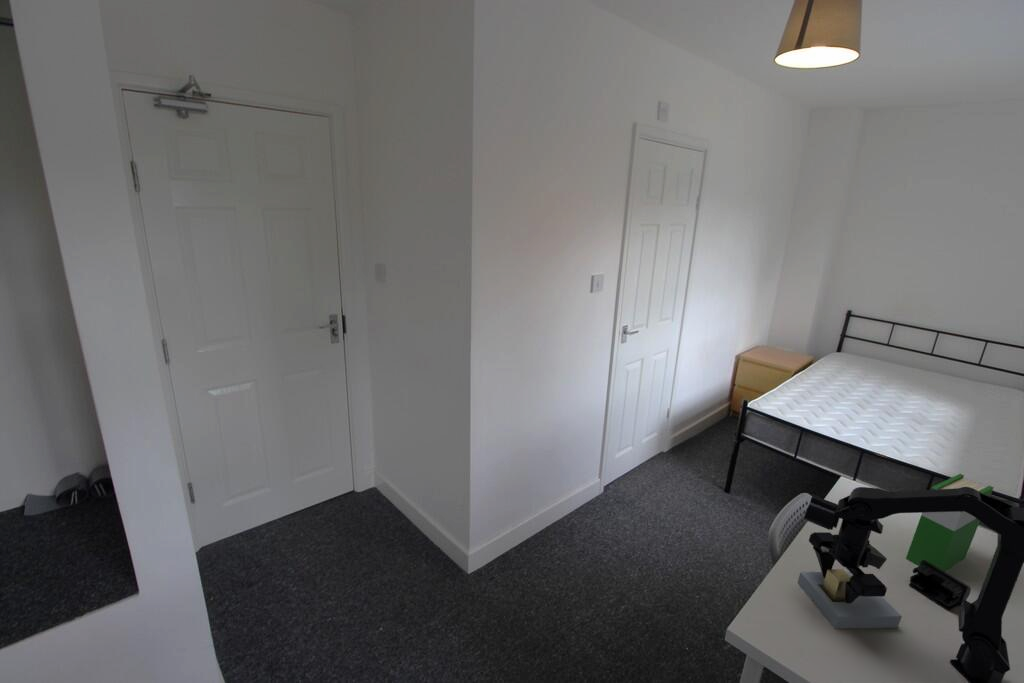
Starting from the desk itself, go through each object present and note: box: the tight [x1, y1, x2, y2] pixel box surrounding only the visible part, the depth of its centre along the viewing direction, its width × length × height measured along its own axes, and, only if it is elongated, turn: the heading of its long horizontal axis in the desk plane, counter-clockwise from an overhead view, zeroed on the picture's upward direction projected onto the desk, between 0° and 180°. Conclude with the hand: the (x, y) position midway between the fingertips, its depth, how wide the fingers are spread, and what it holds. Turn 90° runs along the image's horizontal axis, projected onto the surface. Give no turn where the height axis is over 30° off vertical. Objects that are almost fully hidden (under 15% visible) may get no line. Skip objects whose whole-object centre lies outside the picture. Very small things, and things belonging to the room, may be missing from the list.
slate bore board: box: [797, 571, 902, 629], centre depth 119 cm, size 14×16×4 cm
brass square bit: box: [822, 568, 850, 602], centre depth 118 cm, size 4×4×9 cm
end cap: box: [908, 560, 972, 612], centre depth 123 cm, size 10×7×7 cm
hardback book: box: [905, 473, 994, 572], centre depth 134 cm, size 18×7×24 cm, turn 117°
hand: (836, 589), depth 118 cm, fingers open, 8 cm apart
